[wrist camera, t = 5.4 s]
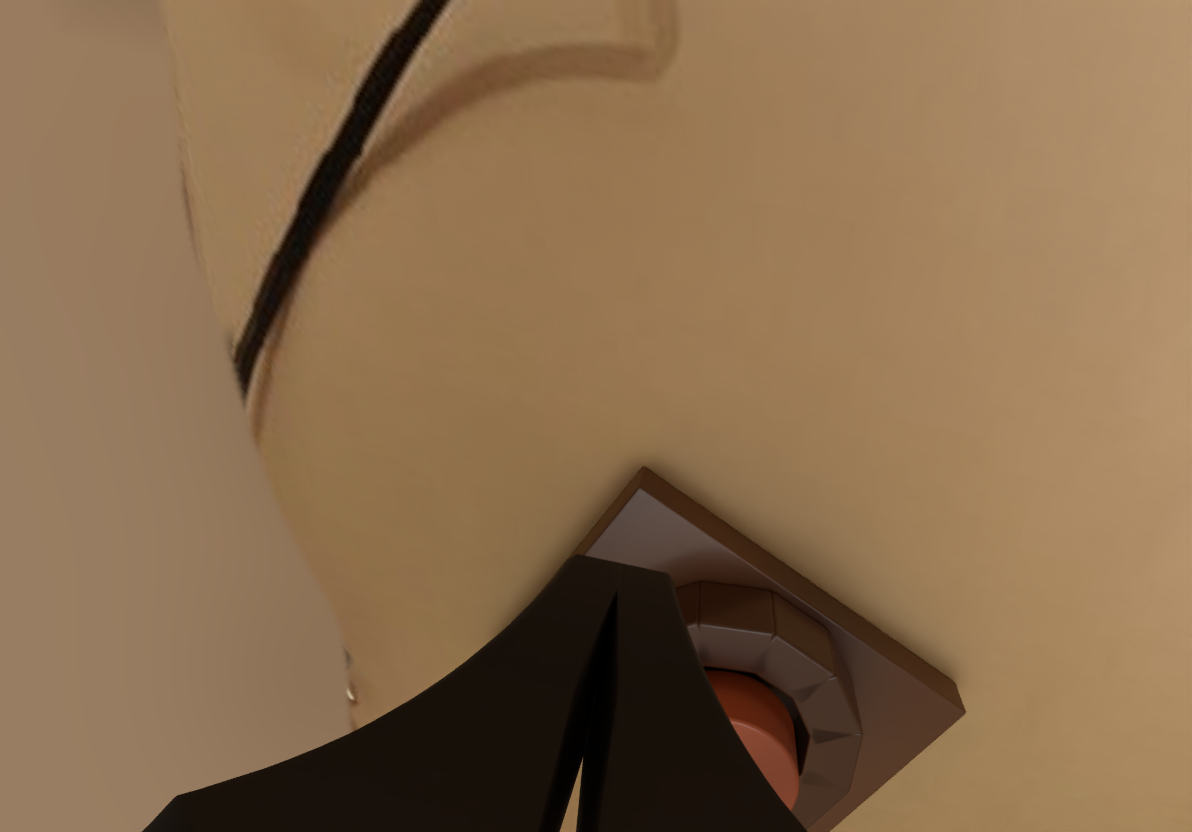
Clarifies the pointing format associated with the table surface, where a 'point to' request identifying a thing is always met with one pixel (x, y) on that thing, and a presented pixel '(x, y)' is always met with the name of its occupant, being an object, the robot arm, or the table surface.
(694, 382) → the table surface
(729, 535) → the switch block
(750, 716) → the button
